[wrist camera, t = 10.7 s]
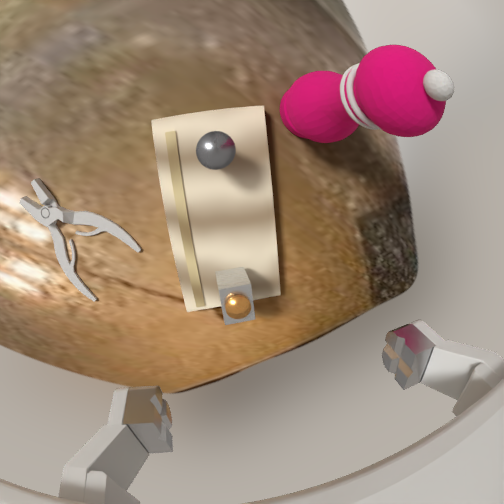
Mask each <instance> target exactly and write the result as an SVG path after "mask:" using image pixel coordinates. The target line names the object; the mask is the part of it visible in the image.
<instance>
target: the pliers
mask: <svg viewBox="0 0 504 504" xmlns="http://www.w3.org/2000/svg"><path fill="white" fill-rule="evenodd" d="M31 184H32V186H33V188H34V190H35V192H36V194H37V196H38V198H39V200H40V202H41V204H43V205H45V206H43V207H42V206H41V205H39V204H38V203H36V202H35V201H33V200H31V199H30V198H28V197H27V196H25V197H23V198H21V200H20V204H21V205H22V206H23V207H24V208H25V209H26V210H27V211H28V212H29V213H30V214H31V215H32V216H33V217H34V218H35V219H36V220H37V221H38V222H40V223H41V224H43V225H44V226H46V227H48V228H49V230H50V232H51V235H52V238H53V241H54V247H55V253H56V256H57V259H58V261H59V263H60V265H61V267H62V269H63V271H64V272H65V274H66V275H67V277H68V278H69V280H70V281H71V282H72V283H73V284H74V286H75V287H76V288H77V289H78V290H79V291H81V292H82V293H83V294H84V295H85V296H87V297H88V298H90V299H91V300H93V301H94V302H95V300H96V299H97V297H96V296H95V295H94V294H93V293H92V292H91V291H90V290H89V289H88V288H87V287H86V285H85V284H84V283H83V282H82V281H81V279H80V278H79V276H78V275H77V273H76V272H75V269H74V265H75V260H76V252H75V248H74V244H73V241H72V239H71V240H69V242H70V245H71V249H72V261H71V263H70V261H69V259H68V256H67V252H66V247H65V241H64V237H63V235H62V233H61V232H60V230H59V228H58V227H57V225H56V224H57V220H58V219H59V220H60V221H62V222H64V223H69V224H80V225H92V226H95V227H98V229H96V230H95V231H92V232H81V231H76V234H79V235H84V236H90V235H95V234H97V233H99V232H102V231H107V232H109V233H110V234H112V235H114V236H116V237H117V238H119V239H120V240H122V241H123V242H125V243H126V244H127V245H129V246H130V247H131V248H133V249H134V250H135V251H137V252H139V251H140V250H141V248H140V246H139V245H138V244H137V242H136V241H135V240H134V239H133V238H132V237H131V236H130V235H129V234H128V233H127V232H126V231H125V230H124V229H123V228H121V227H120V226H119V225H118V224H116V223H114V222H113V221H111V220H109V219H107V218H105V217H104V216H101V215H99V214H96V213H93V212H88V211H72V210H68V209H66V208H64V207H60V206H59V205H58V203H57V201H56V200H55V198H54V197H53V195H52V194H51V193H50V192H49V190H48V189H47V188H46V187H45V185H44V184H43V183H42V181H41V180H40V179H39V178H38V179H34V180H33V181H32V182H31Z"/></svg>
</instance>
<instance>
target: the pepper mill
mask: <svg viewBox="0 0 504 504" xmlns="http://www.w3.org/2000/svg"><path fill="white" fill-rule="evenodd" d="M453 92H454V85H453V82H452V80H451V78H450V77H449V76H448V75H447V74H446V73H445V72H443V71H441V70H436V68H435V67H434V66H433V64H432V63H431V62H430V61H429V60H428V59H427V58H426V57H425V56H423V55H422V54H420V53H419V52H417V51H416V50H414V49H411V48H409V47H406V46H401V45H386V46H381V47H378V48H375V49H374V50H372V51H370V52H369V53H368V54H367V55H365V56H364V57H363V59H362V60H361V62H360V63H359V64H356V65H353V66H351V67H350V68H349V69H347V70H346V72H345V73H344V75H340V74H338V73H335V72H331V71H315V72H311V73H308V74H306V75H303V76H302V77H300V78H299V79H297V80H296V81H295V82H294V84H293V85H292V86H291V88H290V89H289V90H288V91H287V92H286V93H285V94H284V95H283V97H282V99H281V103H280V115H281V118H282V121H283V123H284V125H285V126H286V128H287V129H288V130H289V131H290V132H292V133H293V134H294V135H296V136H298V137H301V138H306V139H310V140H312V141H315V142H320V143H331V142H336V141H340V140H342V139H344V138H346V137H348V136H349V135H351V134H352V133H353V132H354V131H355V130H356V129H357V127H358V126H359V125H361V126H363V127H365V128H368V129H382V130H383V131H385V132H387V133H389V134H392V135H396V136H401V137H414V136H419V135H423V134H424V133H426V132H428V131H430V130H432V129H433V128H434V127H435V126H436V125H437V124H438V122H439V121H440V119H441V118H442V115H443V113H444V109H445V104H446V100H448V99H449V98H451V97H452V95H453Z"/></svg>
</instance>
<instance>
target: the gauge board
mask: <svg viewBox="0 0 504 504" xmlns="http://www.w3.org/2000/svg"><path fill="white" fill-rule="evenodd" d="M151 121H152V130H153V138H154V146H155V153H156V160H157V167H158V173H159V180H160V186H161V192H162V198H163V203H164V209H165V214H166V220H167V225H168V230H169V235H170V240H171V245H172V250H173V254H174V259H175V263H176V268H177V272H178V277H179V281H180V285H181V289H182V293H183V297H184V302H185V305H186V309H187V312H190V311H196V310H202V309H208V308H214V307H219V306H221V301H220V296H219V290H218V285H217V279H216V274H215V272H216V271H221V270H227V269H233V268H239V267H244V269H245V271H246V273H247V276H248V278H249V280H250V283H251V288H252V296H253V300H257V299H262V298H267V297H272V296H277V295H281V294H280V279H279V266H278V252H277V239H276V227H275V215H274V204H273V193H272V182H271V171H270V161H269V151H268V141H267V132H266V122H265V113H264V106H251V107H239V108H228V109H219V110H211V111H203V112H196V113H189V114H183V115H177V116H171V117H166V118H161V119H155V120H151ZM212 131H221V132H224V133H226V134H228V135H229V136H230V137H231V138H232V139H233V141H234V143H235V147H236V153H235V157H234V159H233V161H232V162H231V163H230V164H229V165H228V166H226V167H225V168H222V169H219V170H212V169H208V168H206V167H204V166H203V165H202V164H201V163H200V162H199V160H198V158H197V155H196V146H197V143H198V141H199V140H200V138H201V137H202V136H203V135H205V134H207V133H209V132H212Z"/></svg>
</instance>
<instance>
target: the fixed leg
mask: <svg viewBox="0 0 504 504" xmlns="http://www.w3.org/2000/svg"><path fill="white" fill-rule="evenodd" d="M235 153H236V147H235V143H234V141H233V139H232V138H231V137H230V136H229V135H228V134H226V133H224V132H221V131H212V132H209V133H207V134H205V135H203V136H202V137H201V138H200V140H199V141H198V143H197V146H196V155H197V158H198V160H199V162H200V163H201V164H202V165H203V166H204V167H206V168H208V169H212V170H219V169H222V168H225V167H226V166H228V165H229V164H230V163H231V162H232V161H233V159H234V157H235Z"/></svg>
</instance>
